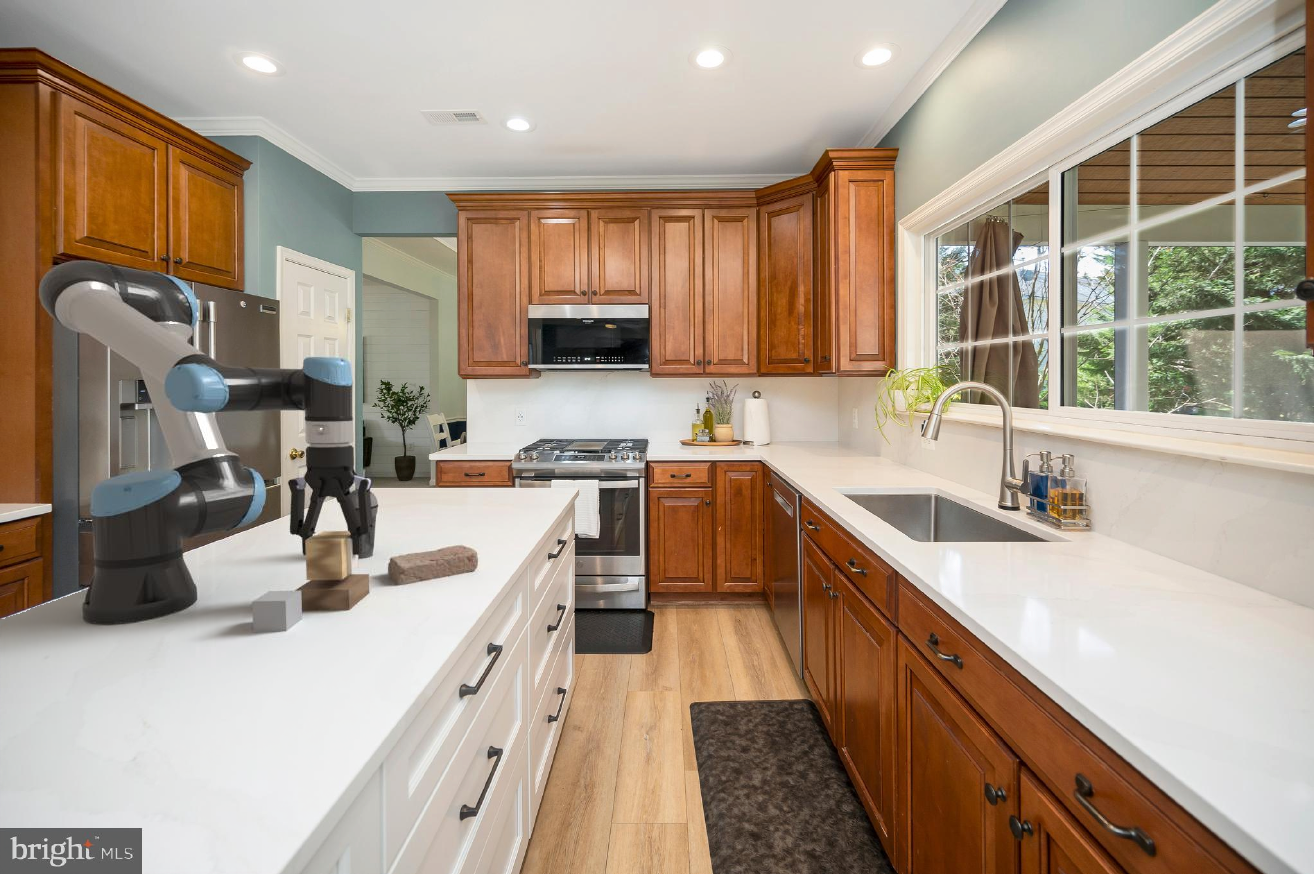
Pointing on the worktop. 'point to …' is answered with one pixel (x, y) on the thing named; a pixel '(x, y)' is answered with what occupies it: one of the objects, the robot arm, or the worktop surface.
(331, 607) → the walnut block
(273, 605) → the grey block
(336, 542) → the oak block
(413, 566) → the brick
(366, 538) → the beverage cup
